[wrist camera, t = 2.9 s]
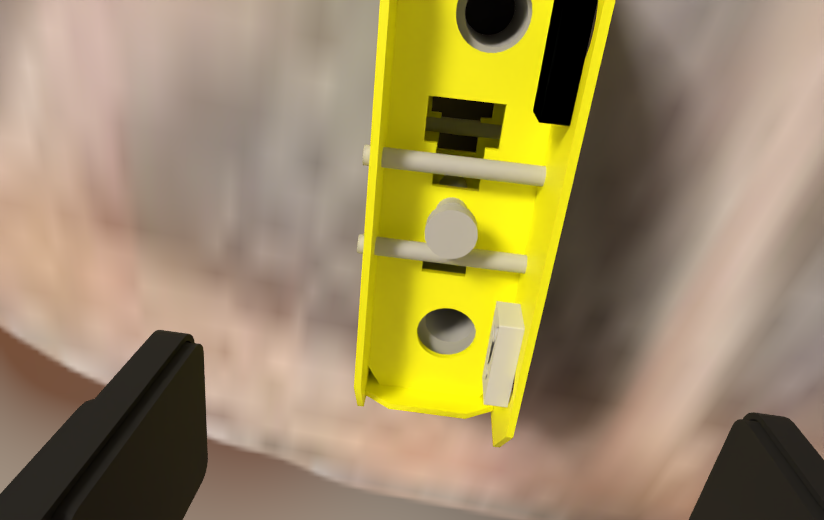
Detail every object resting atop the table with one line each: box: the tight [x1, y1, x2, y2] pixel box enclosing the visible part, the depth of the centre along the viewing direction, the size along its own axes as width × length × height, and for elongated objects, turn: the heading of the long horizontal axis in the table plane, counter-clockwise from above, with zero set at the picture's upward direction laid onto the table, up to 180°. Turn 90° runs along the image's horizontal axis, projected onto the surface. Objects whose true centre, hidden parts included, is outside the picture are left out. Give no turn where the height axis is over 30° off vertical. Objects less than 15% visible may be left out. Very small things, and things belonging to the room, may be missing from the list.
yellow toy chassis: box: [354, 0, 615, 447], centre depth 18 cm, size 16×6×8 cm, turn 174°
